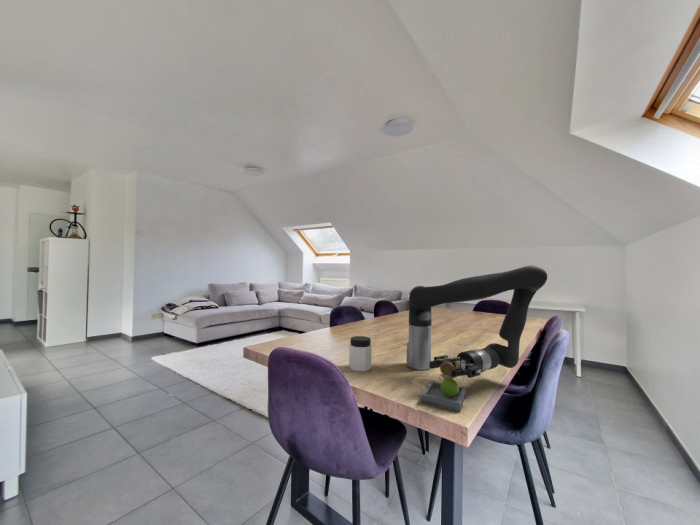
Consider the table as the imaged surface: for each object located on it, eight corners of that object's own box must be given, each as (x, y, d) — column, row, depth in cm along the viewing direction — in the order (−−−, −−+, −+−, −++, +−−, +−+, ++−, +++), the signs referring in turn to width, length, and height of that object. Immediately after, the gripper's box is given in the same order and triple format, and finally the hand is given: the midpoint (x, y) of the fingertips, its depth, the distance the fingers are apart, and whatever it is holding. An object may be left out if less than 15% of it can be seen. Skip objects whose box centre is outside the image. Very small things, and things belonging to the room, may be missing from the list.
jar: (346, 365, 121) (347, 336, 122) (364, 363, 125) (364, 335, 125) (355, 373, 113) (355, 341, 113) (374, 370, 116) (374, 340, 117)
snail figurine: (461, 401, 86) (457, 357, 88) (439, 398, 89) (436, 356, 91) (464, 396, 90) (461, 355, 93) (443, 394, 94) (440, 354, 96)
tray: (420, 403, 89) (421, 394, 89) (430, 388, 100) (431, 380, 100) (459, 412, 83) (459, 403, 83) (465, 395, 95) (465, 387, 95)
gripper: (456, 345, 106) (423, 351, 97) (493, 356, 94) (460, 363, 85) (456, 366, 106) (423, 374, 97) (493, 379, 93) (459, 389, 85)
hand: (440, 369), depth 91 cm, fingers open, 8 cm apart
